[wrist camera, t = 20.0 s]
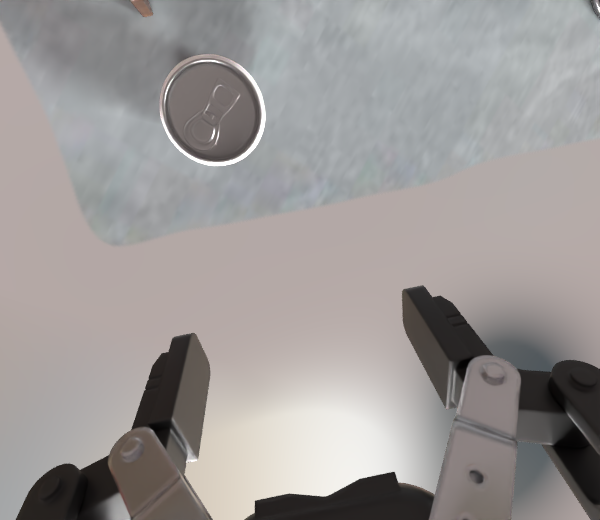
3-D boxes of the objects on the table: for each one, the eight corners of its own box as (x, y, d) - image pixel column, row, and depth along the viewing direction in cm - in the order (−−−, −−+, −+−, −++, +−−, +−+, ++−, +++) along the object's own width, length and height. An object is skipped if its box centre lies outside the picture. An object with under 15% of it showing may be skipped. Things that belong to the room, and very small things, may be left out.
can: (164, 121, 30) (132, 126, 19) (203, 54, 29) (191, 19, 18) (228, 164, 33) (231, 190, 22) (267, 104, 31) (290, 100, 20)
